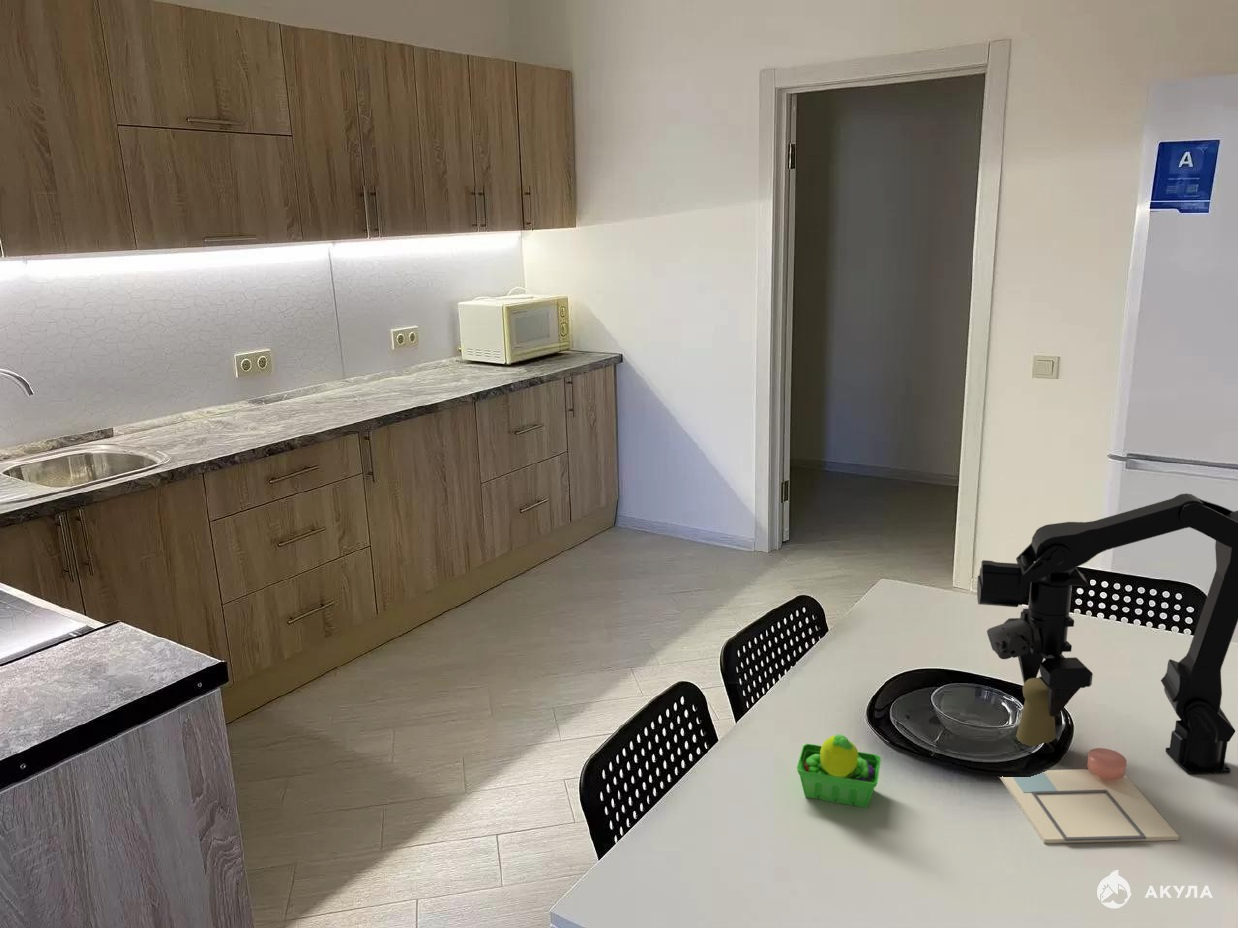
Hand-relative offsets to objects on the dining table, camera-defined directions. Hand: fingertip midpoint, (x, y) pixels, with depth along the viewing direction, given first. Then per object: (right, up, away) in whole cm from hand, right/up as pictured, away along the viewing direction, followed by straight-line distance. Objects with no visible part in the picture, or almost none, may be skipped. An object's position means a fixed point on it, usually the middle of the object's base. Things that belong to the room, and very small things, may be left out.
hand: (1040, 700), depth 149 cm
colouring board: (0, -12, -13) cm, 18 cm away
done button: (+6, -8, -8) cm, 13 cm away
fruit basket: (-34, -12, -9) cm, 37 cm away
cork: (0, -8, +2) cm, 8 cm away
